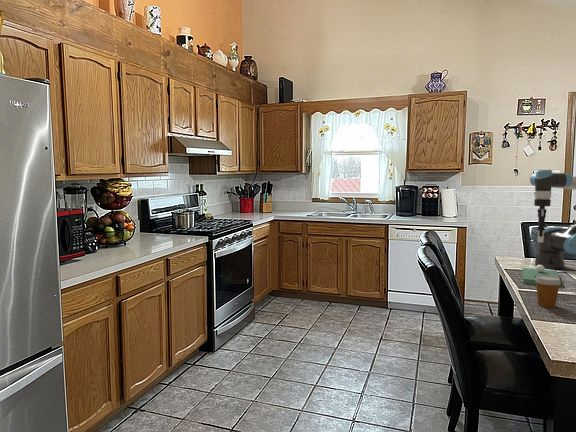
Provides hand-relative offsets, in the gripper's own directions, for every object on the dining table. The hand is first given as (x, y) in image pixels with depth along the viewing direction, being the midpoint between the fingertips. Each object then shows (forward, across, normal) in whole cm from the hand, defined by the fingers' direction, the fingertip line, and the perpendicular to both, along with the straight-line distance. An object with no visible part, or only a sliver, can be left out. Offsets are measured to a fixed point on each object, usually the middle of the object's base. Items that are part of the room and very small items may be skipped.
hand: (540, 242), depth 236 cm
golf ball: (+13, +7, 0) cm, 15 cm away
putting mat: (+18, +13, 0) cm, 22 cm away
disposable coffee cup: (+18, +60, 0) cm, 63 cm away
